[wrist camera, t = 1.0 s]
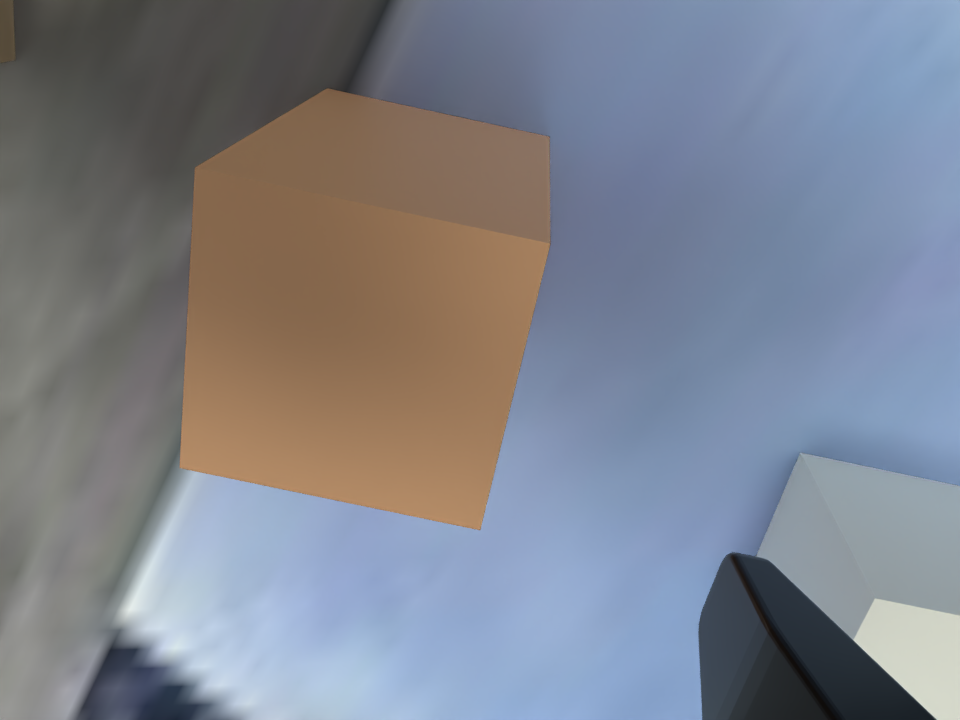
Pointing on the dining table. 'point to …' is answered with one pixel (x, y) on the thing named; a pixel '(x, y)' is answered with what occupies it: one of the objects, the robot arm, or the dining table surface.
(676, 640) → the dining table surface
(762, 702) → the robot arm
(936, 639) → the off-white cube
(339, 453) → the brown block
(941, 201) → the dining table surface
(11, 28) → the birch cube
